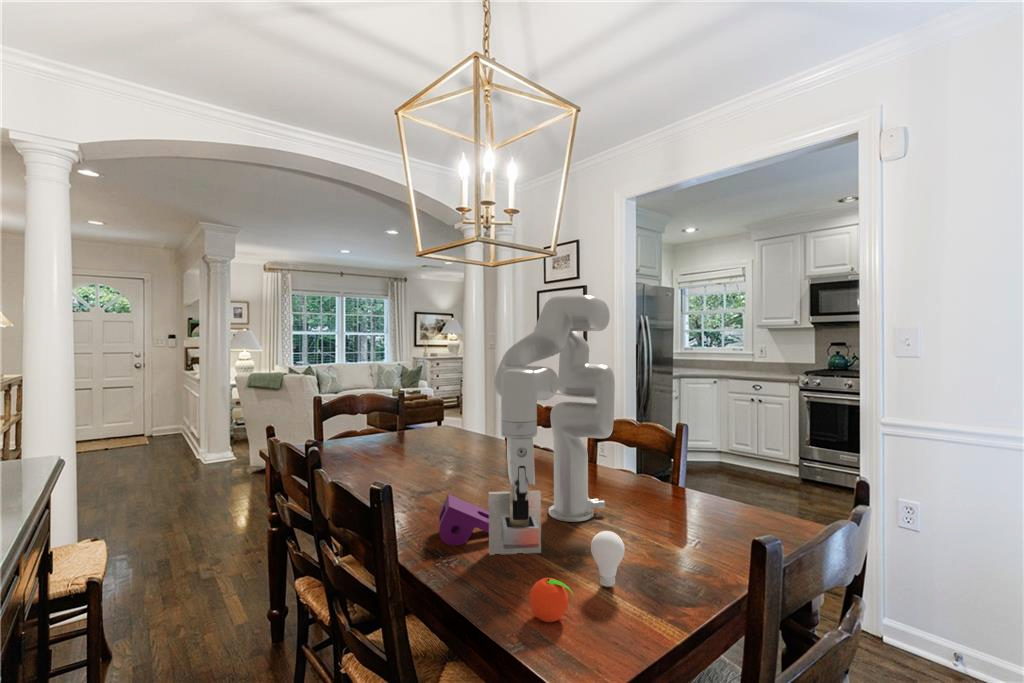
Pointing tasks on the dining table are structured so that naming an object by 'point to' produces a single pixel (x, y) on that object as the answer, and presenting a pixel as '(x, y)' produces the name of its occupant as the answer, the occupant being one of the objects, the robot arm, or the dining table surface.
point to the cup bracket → (513, 538)
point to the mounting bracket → (460, 520)
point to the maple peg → (512, 522)
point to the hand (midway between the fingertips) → (519, 514)
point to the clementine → (549, 599)
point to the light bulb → (607, 555)
